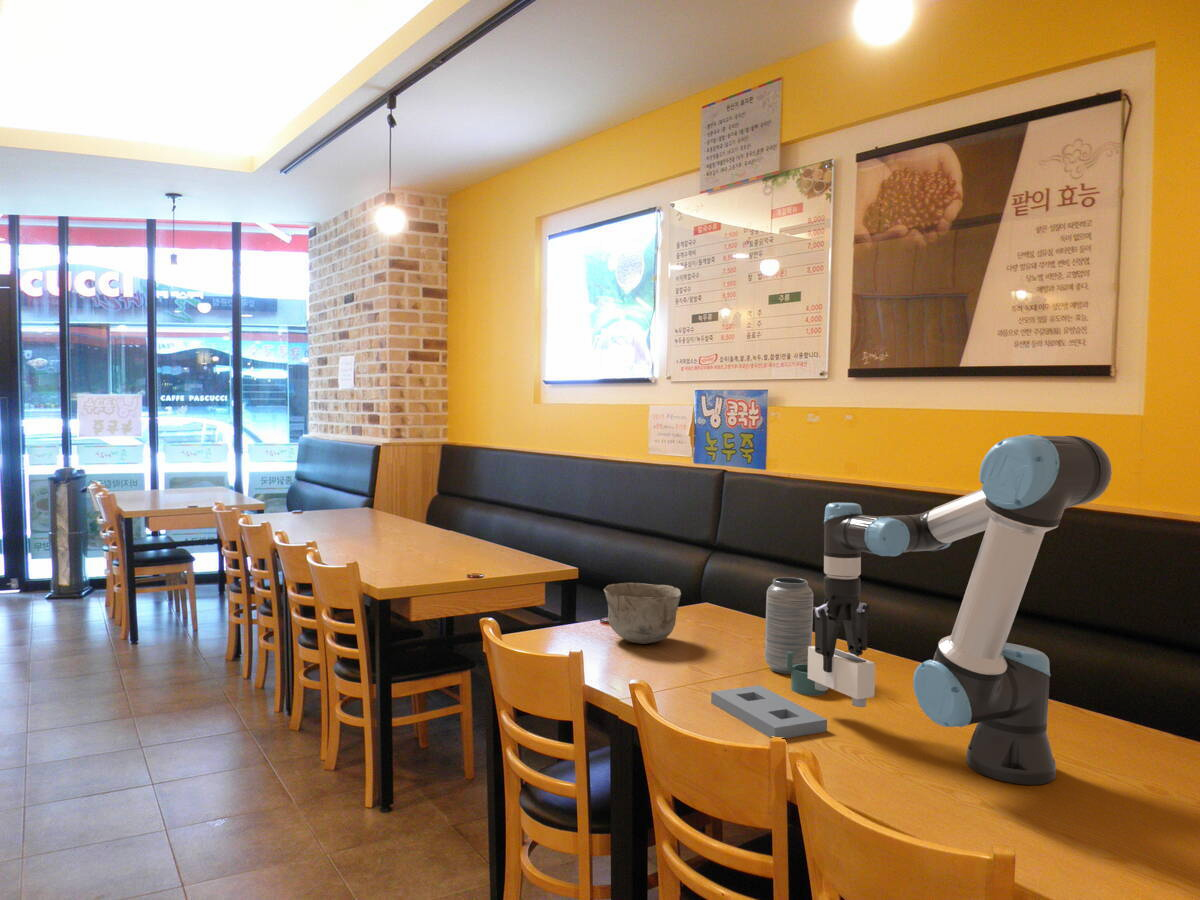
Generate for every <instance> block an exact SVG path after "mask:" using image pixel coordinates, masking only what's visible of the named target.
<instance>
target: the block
mask: <svg viewBox="0 0 1200 900" xmlns="http://www.w3.org/2000/svg"><path fill="white" fill-rule="evenodd" d="M849 653H850V652H848V653H847V652H845V651H843V650H841V649H837V648H835V651H834V656H833V657H836V658H837V686H836V689H832V688H830V687H828V686H825V671H824V670H823V655H821V654H818V653H816V652H815V645H812V646H809V647H808V679H810V680H813V681H815V689H816V690H821V691H825V690H827V691H828V690H829V689H831V690H834V691H836V692H839V693H840V694H843V695H846V696H848V697H850V698H851V705H852V706H853V707H856V708H864V707H867V699H869V698H874V697H875V688H876V687H875V685H876V684H875V681H876V675H875V674H876V663H875V662H873V661H870V660H868V659H865V658H863V657H860V656H859V657H857V656H854V655H852V654H849Z"/></svg>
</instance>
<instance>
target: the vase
mask: <svg viewBox="0 0 1200 900" xmlns="http://www.w3.org/2000/svg"><path fill="white" fill-rule="evenodd" d="M813 608H814V592H813V589H812V588H811V587H810V586H809V582H808V581H807V580H806V579H803V578H798V577H789V576H786V577H785V576H781V577H780V576H779V577H775V578H773V579H772V584H770V585H769V586H768V588H767V590H766V602H765V634H764V635H765V640H764V659H765V662H766V664H767V665H768V666H769V669H770V670H771V671H773V672H776V673H779V674H783V675H791V674H792V672H790V671H788V670H787V669H786V661H787V651H790V652H793V659H792V666H793V665H796V664H808V647H809V646H813V618H814V617H813V615H814V613H813Z"/></svg>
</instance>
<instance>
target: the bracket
mask: <svg viewBox="0 0 1200 900" xmlns="http://www.w3.org/2000/svg"><path fill="white" fill-rule="evenodd" d="M792 659H793V652H790V651H787V661H786V669H787V670H788V671H790V672H792V674H790V675H791V679H790V680H791V681H790V682H791V683H790V689H791V691H792V692H794V693H796V694H799V695H805V696H812V697H813V696H815V697H816V696H822V695H825V694H826V693H827V691H828V690H825V691H821V690H816V689H815V681H813V680H810V679H808V664H796V665H793V666H792Z"/></svg>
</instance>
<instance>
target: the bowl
mask: <svg viewBox="0 0 1200 900" xmlns="http://www.w3.org/2000/svg"><path fill="white" fill-rule="evenodd" d="M603 592H604V595H605V597H606V601H607V602H606V603H607V609H608V615H607V620H608V624H609V626H610V628H611V629H612V631H614V633H615V634H617V635H618V636H619V637H620V638H622V639H623V640H625V641H627V642H630V643H634V644H640V645H647V644H653V643H656V642H660V641H663V640H664V639H666V638H668V636H670V635H671V633H672V632H673V630H674V628H675V625H676V622H677V611H678V610H679V603H680V599H681V595H682V592H681V589H679V587H675V586H672V585H668V584H651V583H642V582H619V583H612V584H608V585H607V586H605V587H604V588H603Z"/></svg>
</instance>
